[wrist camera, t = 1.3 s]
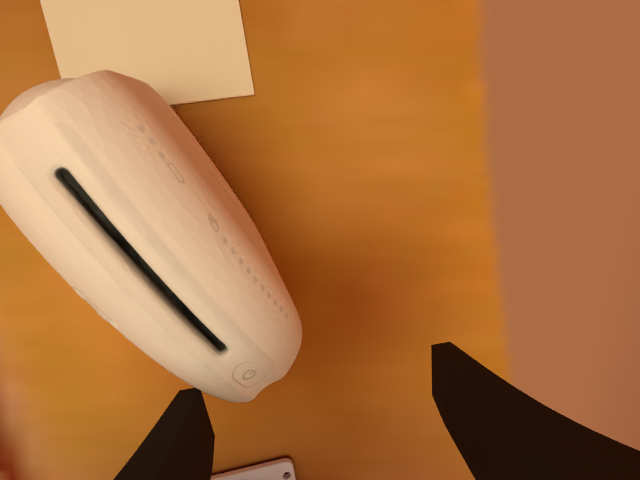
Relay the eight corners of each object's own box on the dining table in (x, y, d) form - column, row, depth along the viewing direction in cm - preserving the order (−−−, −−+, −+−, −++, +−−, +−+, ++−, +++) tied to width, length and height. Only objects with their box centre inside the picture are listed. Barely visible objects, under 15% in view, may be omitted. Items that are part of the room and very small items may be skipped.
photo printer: (270, 239, 22) (345, 378, 11) (207, 281, 22) (218, 469, 11) (149, 68, 18) (69, 9, 6) (68, 118, 17) (-162, 147, 6)
